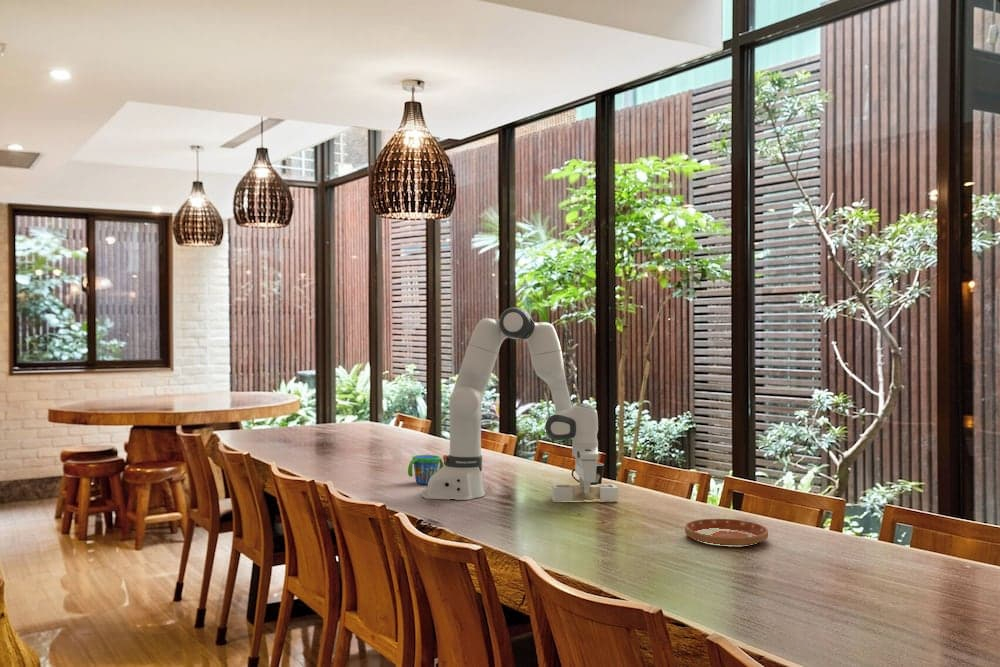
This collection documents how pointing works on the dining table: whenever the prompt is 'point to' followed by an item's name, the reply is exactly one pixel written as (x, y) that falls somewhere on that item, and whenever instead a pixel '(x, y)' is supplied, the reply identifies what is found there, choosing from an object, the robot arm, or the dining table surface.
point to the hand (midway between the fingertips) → (584, 491)
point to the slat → (580, 495)
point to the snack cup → (424, 467)
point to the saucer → (725, 536)
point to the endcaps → (566, 495)
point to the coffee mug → (598, 474)
